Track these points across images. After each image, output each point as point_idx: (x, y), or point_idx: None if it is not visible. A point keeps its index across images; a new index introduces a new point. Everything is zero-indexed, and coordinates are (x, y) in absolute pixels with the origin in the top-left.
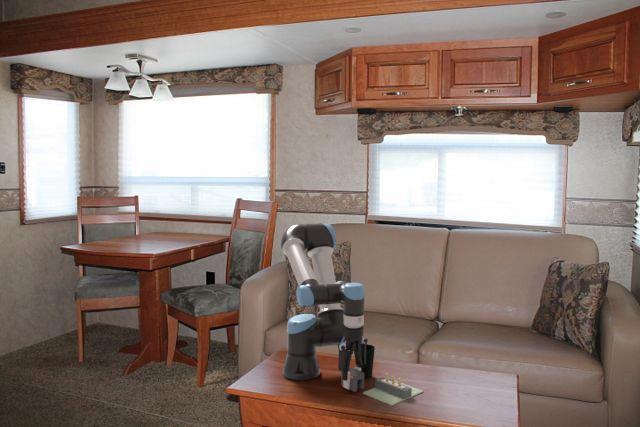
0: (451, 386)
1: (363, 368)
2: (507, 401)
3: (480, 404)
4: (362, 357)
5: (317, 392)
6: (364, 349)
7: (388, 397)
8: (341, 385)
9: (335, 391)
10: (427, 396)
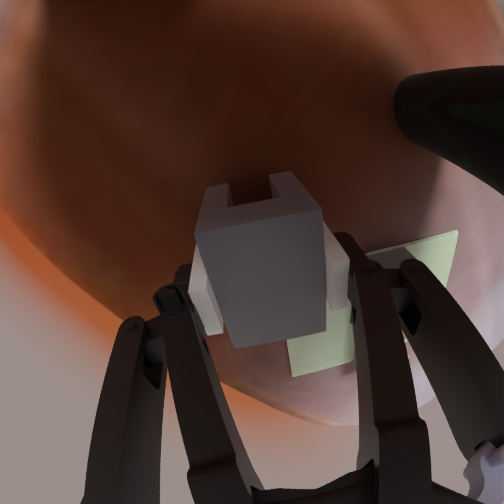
0: (479, 319)
1: (437, 143)
2: None
3: (424, 388)
4: (418, 334)
5: (75, 164)
6: (449, 413)
7: (326, 343)
8: (206, 189)
9: (163, 190)
10: (410, 351)
